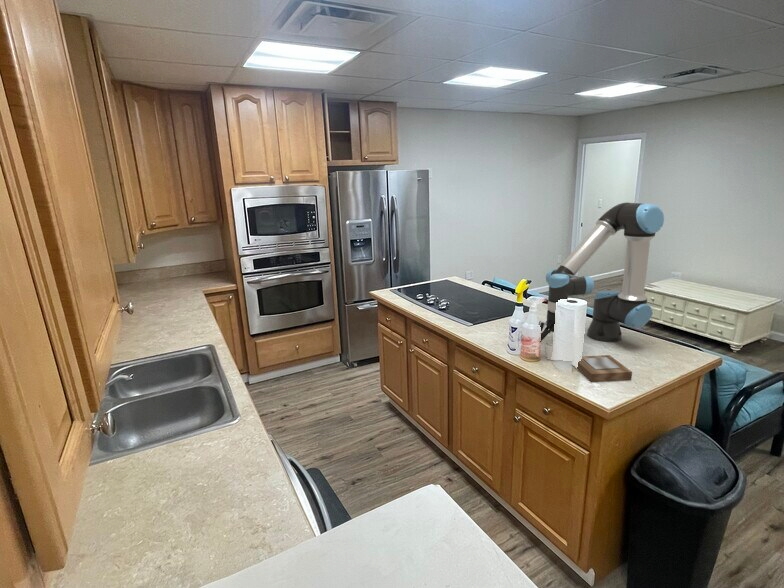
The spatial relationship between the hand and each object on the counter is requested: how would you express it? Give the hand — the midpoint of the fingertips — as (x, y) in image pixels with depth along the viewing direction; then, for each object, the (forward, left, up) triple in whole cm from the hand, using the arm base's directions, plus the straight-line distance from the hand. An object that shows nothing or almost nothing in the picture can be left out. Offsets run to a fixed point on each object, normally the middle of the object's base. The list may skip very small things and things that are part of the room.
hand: (553, 356), depth 184 cm
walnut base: (-13, +15, -1) cm, 20 cm away
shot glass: (0, 0, -1) cm, 1 cm away
